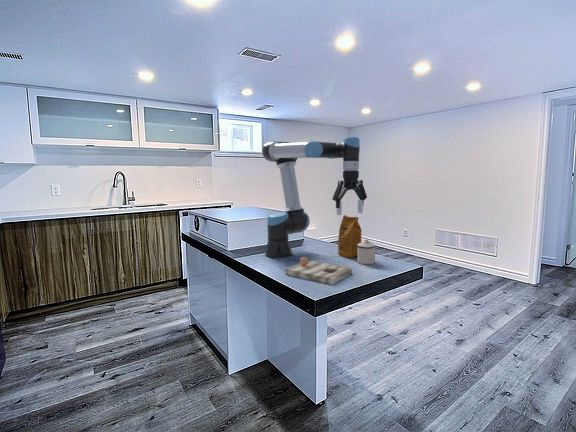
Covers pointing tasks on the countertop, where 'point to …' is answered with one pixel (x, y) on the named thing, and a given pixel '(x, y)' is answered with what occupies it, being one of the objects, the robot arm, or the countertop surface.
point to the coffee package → (349, 237)
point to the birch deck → (319, 272)
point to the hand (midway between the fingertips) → (349, 213)
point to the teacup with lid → (366, 252)
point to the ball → (303, 261)
